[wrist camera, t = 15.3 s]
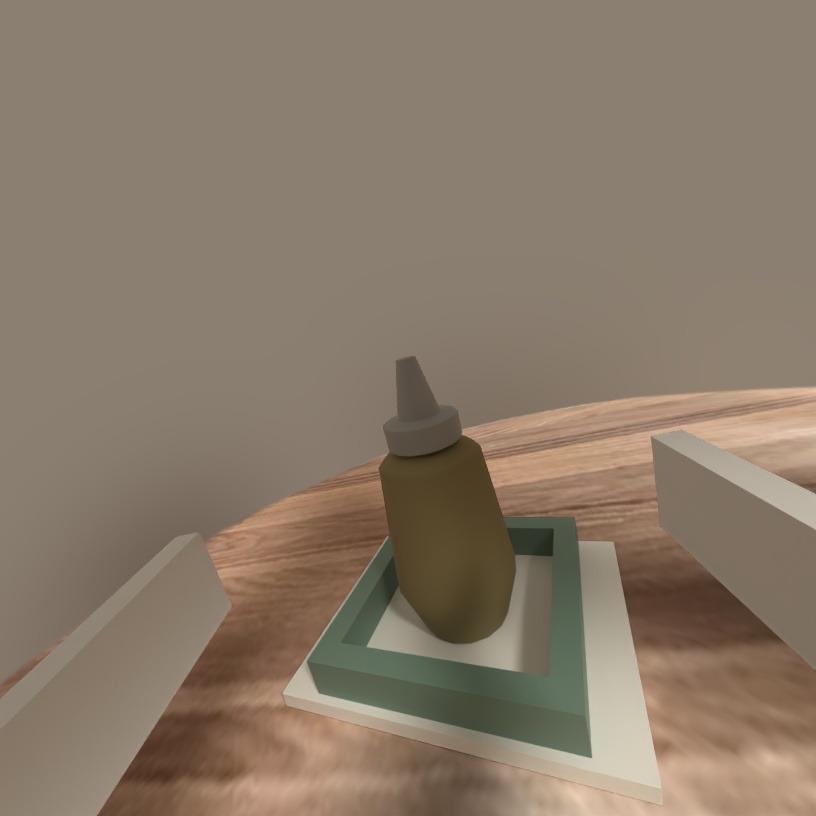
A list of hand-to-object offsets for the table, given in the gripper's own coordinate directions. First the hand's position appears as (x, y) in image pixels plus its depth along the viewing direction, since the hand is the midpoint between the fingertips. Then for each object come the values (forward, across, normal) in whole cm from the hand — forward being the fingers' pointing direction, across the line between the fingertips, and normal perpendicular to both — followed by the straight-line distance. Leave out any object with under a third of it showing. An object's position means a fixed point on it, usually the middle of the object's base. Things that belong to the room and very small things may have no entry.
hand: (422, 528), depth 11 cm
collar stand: (+12, 0, -16) cm, 20 cm away
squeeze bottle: (+12, 0, -15) cm, 19 cm away
